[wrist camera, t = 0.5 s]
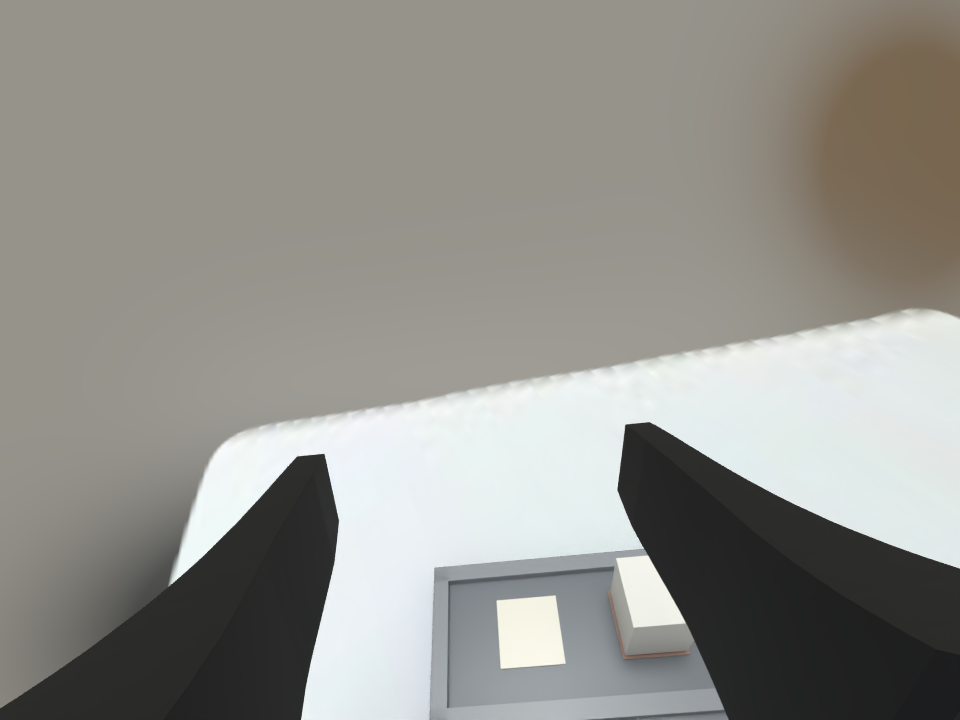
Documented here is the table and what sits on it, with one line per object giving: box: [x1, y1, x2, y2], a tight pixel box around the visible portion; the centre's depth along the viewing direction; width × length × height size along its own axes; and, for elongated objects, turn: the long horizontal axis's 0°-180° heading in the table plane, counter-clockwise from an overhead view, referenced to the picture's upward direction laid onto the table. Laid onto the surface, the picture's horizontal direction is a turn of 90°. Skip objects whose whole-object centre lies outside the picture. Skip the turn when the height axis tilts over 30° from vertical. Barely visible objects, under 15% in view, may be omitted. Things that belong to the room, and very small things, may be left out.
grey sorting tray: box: [430, 549, 729, 720], centre depth 22 cm, size 14×16×2 cm
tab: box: [610, 555, 694, 656], centre depth 22 cm, size 3×3×4 cm
